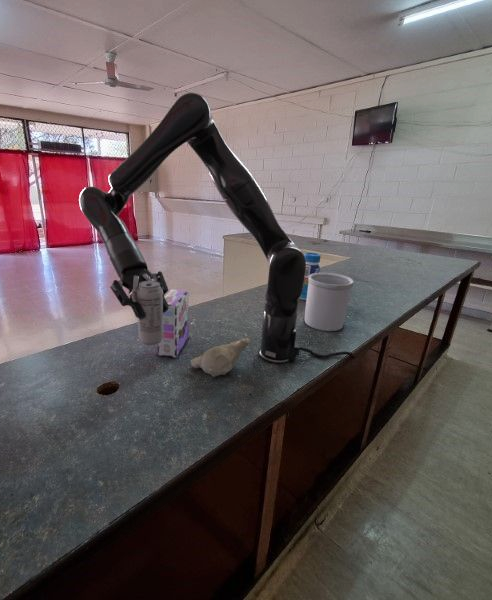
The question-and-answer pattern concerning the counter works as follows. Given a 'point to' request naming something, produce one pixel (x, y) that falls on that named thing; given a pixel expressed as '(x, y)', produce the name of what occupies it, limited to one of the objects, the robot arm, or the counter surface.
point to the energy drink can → (150, 312)
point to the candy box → (174, 324)
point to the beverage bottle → (310, 271)
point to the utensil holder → (327, 300)
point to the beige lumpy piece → (220, 358)
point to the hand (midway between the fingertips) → (154, 314)
